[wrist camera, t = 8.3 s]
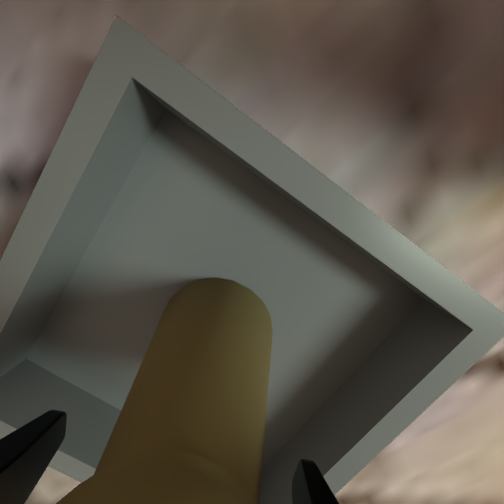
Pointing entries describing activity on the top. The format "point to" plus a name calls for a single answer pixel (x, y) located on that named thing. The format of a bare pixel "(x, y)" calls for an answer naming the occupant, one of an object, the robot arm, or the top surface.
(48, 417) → the robot arm
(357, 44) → the top surface
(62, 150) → the tray
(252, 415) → the olive gourd-shaped piece
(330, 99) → the top surface
